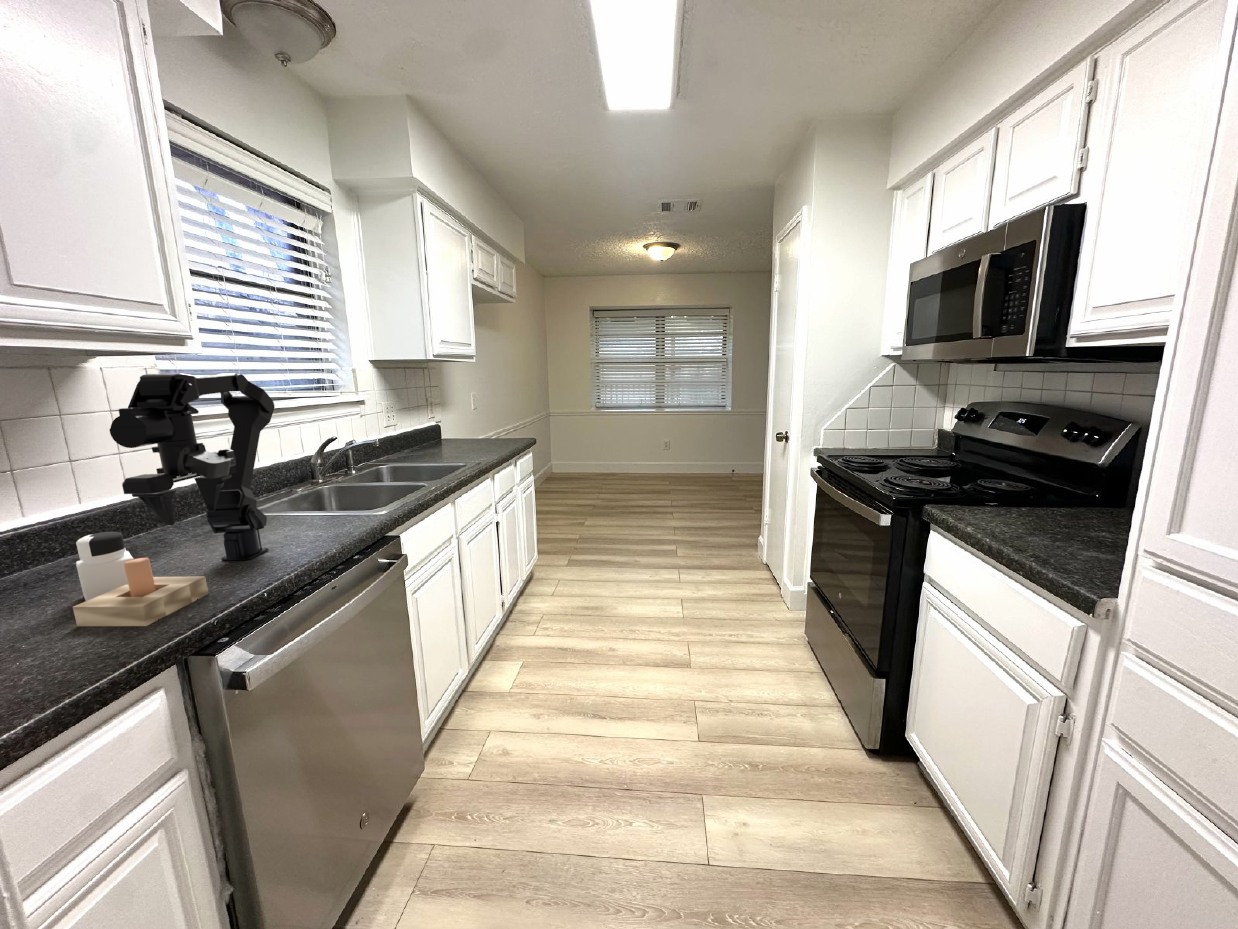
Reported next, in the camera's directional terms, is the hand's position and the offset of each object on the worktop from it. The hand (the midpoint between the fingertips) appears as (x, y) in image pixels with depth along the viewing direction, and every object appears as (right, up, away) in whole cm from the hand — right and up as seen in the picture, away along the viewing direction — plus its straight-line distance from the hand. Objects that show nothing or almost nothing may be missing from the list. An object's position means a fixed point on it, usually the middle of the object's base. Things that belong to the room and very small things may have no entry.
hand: (192, 517), depth 98 cm
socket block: (+1, -15, -10) cm, 18 cm away
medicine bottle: (-12, -14, -4) cm, 19 cm away
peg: (+1, -15, -10) cm, 18 cm away
